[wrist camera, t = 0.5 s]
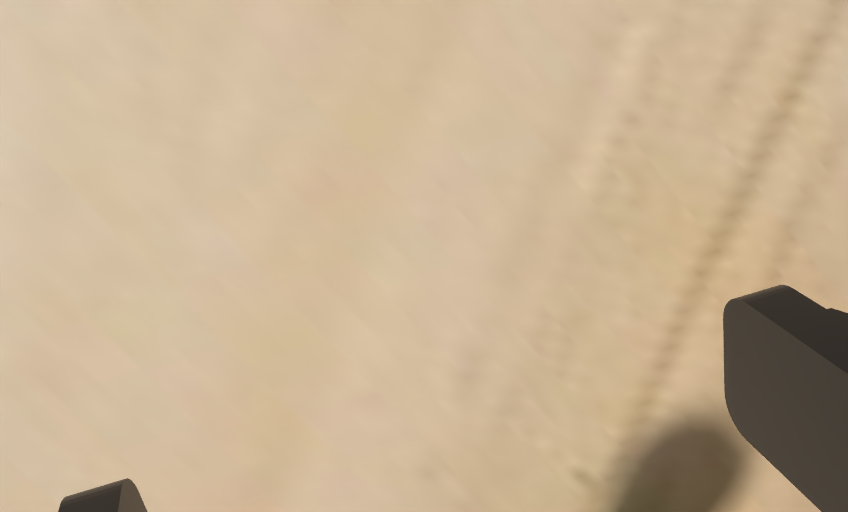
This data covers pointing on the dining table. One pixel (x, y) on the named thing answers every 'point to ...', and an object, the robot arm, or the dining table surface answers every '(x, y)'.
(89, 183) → the dining table surface
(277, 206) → the dining table surface
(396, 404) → the dining table surface
